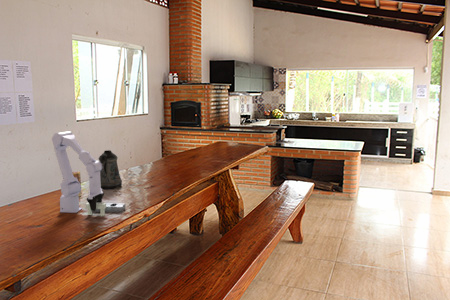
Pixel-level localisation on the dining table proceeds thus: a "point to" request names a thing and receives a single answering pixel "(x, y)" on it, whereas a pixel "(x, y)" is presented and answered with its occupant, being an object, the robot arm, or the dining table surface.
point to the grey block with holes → (113, 207)
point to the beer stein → (109, 171)
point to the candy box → (77, 175)
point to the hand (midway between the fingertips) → (96, 208)
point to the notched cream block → (98, 206)
